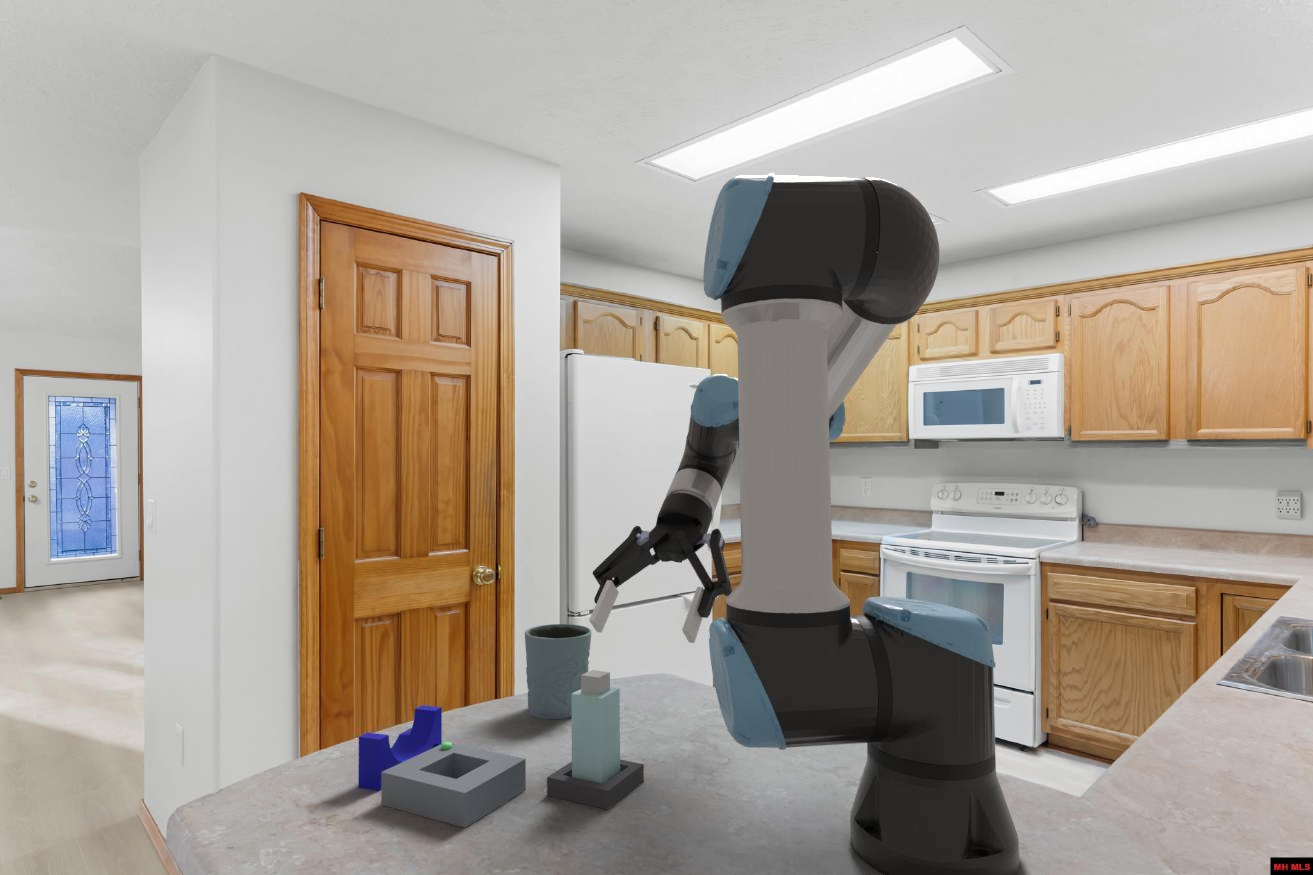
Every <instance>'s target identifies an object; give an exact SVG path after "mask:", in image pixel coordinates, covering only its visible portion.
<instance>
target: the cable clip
mask: <svg viewBox="0 0 1313 875" xmlns="http://www.w3.org/2000/svg"><path fill="white" fill-rule="evenodd" d="M442 711H443V707H442V706H433V705H424V704H423V705H419V706H417V707H416V708H414V719H413V722H412V727H410V728H408V729H407V730H405V731H403V732H401V733H399V734H398V736H397V739H396V741H395V742H394V743H393V745H392V746H390V745H391V744H390V736H389V734H383V733H382V734H381V733H374V732H366V733H364V734H362V735H358V784H357V785H358V788H359V789H364V790H365V789H366V790H370V791H379V792H381V772H383V771H385V770H387V769H389V768H391V767H393V766H396V765H398V764H400V763H402V762H404V761H406V760H408V759H411V758H413V757H415V756H417V755H419V754H421V753H424V752H426V751H428V750H430V749H432V748H434V747H436V746H439V745H441V744H442V743H443V742H442V741H443V740H442V738H443V736H442V735H443V734H442V733H443V731H442V730H443V729H442V728H443V727H442V725H443V724H442V722H443V720H442V719H443V716H442V714H443V712H442Z"/></svg>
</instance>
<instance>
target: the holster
mask: <svg viewBox="0 0 1313 875" xmlns="http://www.w3.org/2000/svg"><path fill="white" fill-rule="evenodd" d="M644 768H645V766H644V763H640V762H635V761H631V760H630V761H629V760H626V759H625V760H624V759H621V758H620V773H619V774H617V775H616V776H615V777H613V778H612V779H610V780H609V781H608V782H606V783H605V784H601V783H597V782H592V781H588V780H583V779H579V778H574V777H572V761H570V762H569V763H567V764H566V765H564V766H562V767H561V768H559V769H558V770H556V771H554V772H553V773H551V774H550V775H548V776H546V793H547V794H546V796H549V797H553V798H557V799H562V800H566V801H570V802H573V803H578V804H582V805H583V804H584V805H587V806H591V807H595V808H600V809H603V810H606V811H607V810H610V809H611V808H612V807H613V806H615V805H616V804H617V803H618V802H620V801H621V800H622V799H623V798H625V797H626V796H627V795H629V794H630V793H631V792H632V791H634V790H635V789H636V788H638V787H639V786H641V785H642V783H643V782H645V779H644V778H645V775H644V774H645V773H644V772H645V769H644Z"/></svg>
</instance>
